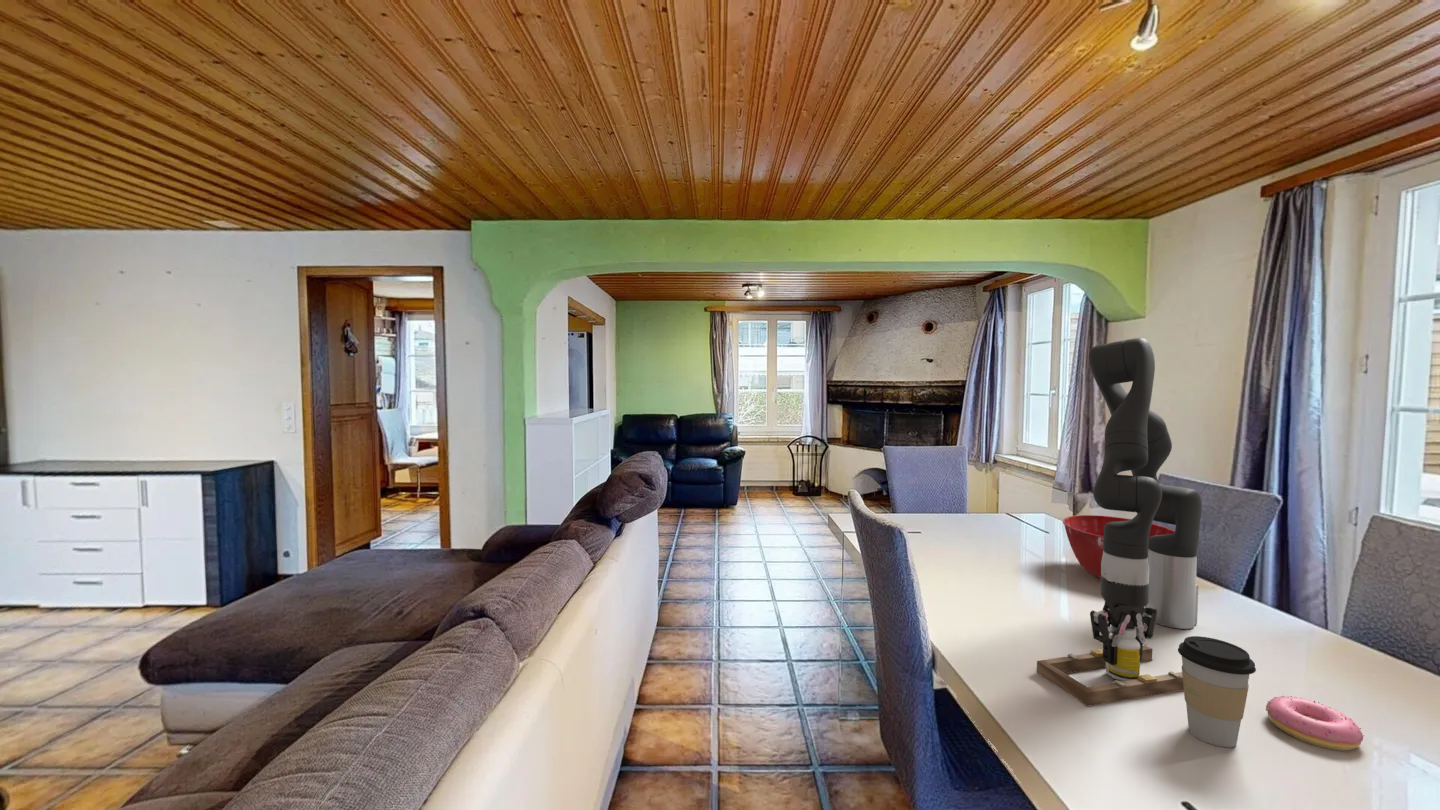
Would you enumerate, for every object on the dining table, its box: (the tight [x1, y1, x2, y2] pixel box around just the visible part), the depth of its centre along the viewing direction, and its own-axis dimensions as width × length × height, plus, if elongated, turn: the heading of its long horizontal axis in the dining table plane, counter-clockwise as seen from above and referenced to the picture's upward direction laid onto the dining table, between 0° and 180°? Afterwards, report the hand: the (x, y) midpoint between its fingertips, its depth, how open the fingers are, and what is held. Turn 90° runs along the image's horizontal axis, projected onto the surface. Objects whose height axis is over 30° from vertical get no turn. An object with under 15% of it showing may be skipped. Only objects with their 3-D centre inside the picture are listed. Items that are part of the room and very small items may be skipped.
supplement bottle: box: [1104, 624, 1141, 682], centre depth 106 cm, size 5×5×10 cm
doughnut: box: [1265, 695, 1365, 751], centre depth 90 cm, size 11×11×4 cm
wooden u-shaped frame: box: [1036, 645, 1184, 707], centre depth 106 cm, size 28×12×3 cm, turn 103°
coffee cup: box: [1177, 635, 1257, 748], centre depth 89 cm, size 9×9×15 cm
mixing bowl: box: [1062, 514, 1175, 580], centre depth 161 cm, size 28×28×16 cm
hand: (1122, 660), depth 106 cm, fingers closed on supplement bottle, 5 cm apart
